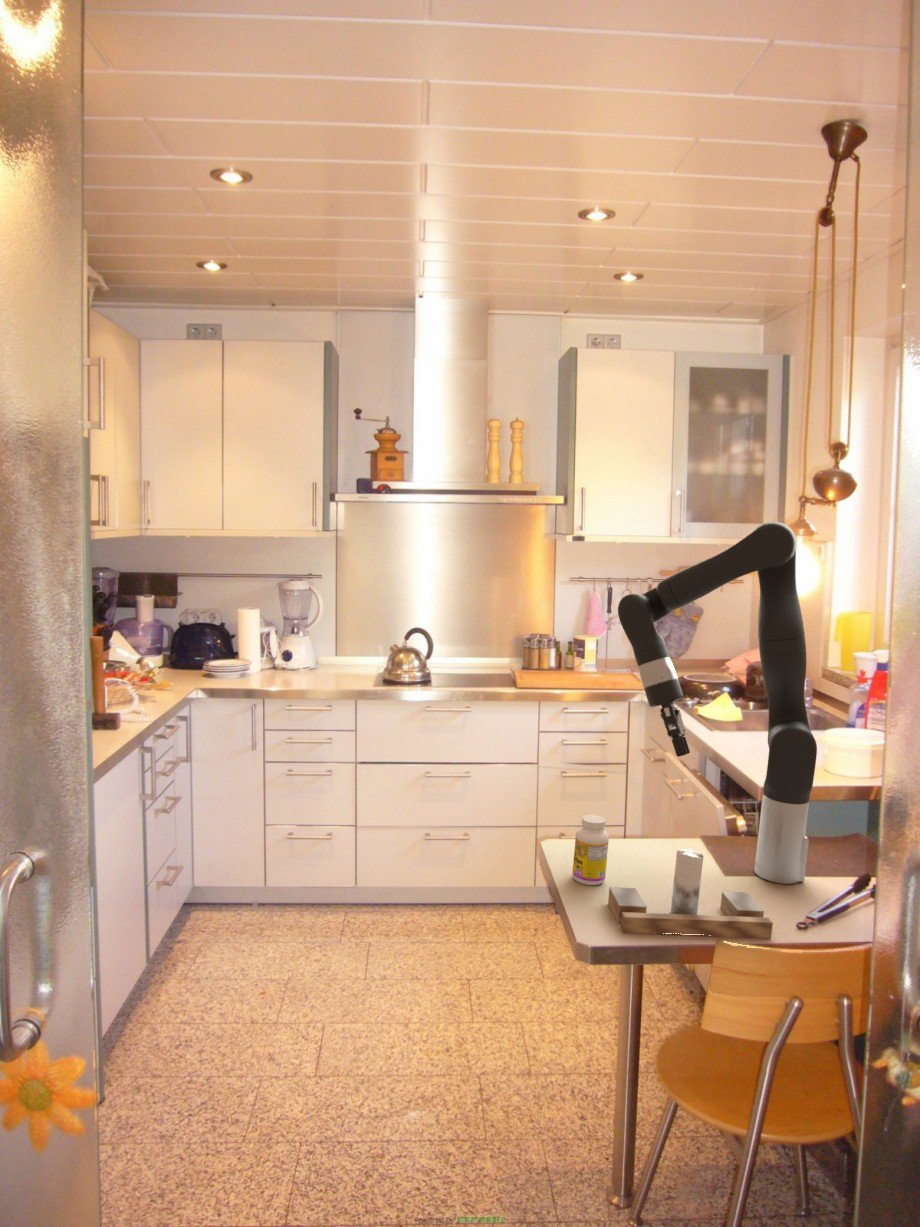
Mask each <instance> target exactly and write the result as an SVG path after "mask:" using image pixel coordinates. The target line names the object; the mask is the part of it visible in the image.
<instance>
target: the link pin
mask: <svg viewBox="0 0 920 1227" xmlns="http://www.w3.org/2000/svg"><path fill="white" fill-rule="evenodd" d="M675 858H676V859H675V865H674V866H675V867H674V875H673V876H674V877H673V887H672V895H671V896H672V897H671V906H670V913H671V914H686V915H698V908H699V900H700V891H701V882H702V872H703V862H704V855H703V853H702V852H700V851H697V850H695V849H688V848H681V849H678V850H677V851H676V857H675Z"/></svg>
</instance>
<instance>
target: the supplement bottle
mask: <svg viewBox="0 0 920 1227" xmlns="http://www.w3.org/2000/svg"><path fill="white" fill-rule="evenodd" d="M581 818H582V819H581V825H582V827H580V828H578V829H577V831H575V842H574V853H573V862H572V863H573V864H572V878H573V879H574V881H576V882H577V883H579V884H582V885H585V886H597V885H601V884H603V883H604V882H605V880H606V874H607V873H606V872H607V862H608V861H607V860H608V853H609V852H608V851H609V839H610V836H609V834H608V832H607V831H606V830H605V827H606V819H605V818H604V817H602V816H599V815H595V814H586V815H583V816H582V817H581Z"/></svg>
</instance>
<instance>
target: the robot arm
mask: <svg viewBox="0 0 920 1227" xmlns="http://www.w3.org/2000/svg"><path fill="white" fill-rule="evenodd" d="M797 547H798V545H797V537H796V534H795V532H794V531H793V530H792V528H791V527H790V526H789V525H787V524H785V523H783V522H779V521H768V522H763V523H762V524H760V525H758V526H757V527H755V529H753V530H752V532H751V533H749V534H747V535H746V536H745V537H744V538H742V539H741V540H739V541H738V542H736V544H733V545H732V546H730V547H729V548H728V549H725V550H724V551H721V552H720V553H718V554H716V555H713V556H712V557H709V558H707V559H705V560H703V561H700V562H698V563H695V564H693V565H690V566H689V567H686V568H684V569H682V570H680V571H678V572H676V573H674V574H672V575H670V576H668V577H666V578H664V579H663V580H661V581H659V583H658V584H657V586H655V587H654V588H652V589H650V590H648V591H646V592H644V593H641V594H639V593H629V594H627V595H624V596H623V597H622V598H621V599H620V600H619V603H618V605H617V614H618V619H619V622H620V624H621V627H622V629H623V631H624V634H625V635H626V637H627V639H628V641H629V643H630V645H631V647H632V651H633V654H634V657H635V661H636V664H637V666H638V672H639V676H640V677H639V678H640V680H641V684H642V687H643V689H644V693H645V696H646V699H647V702H648V703H647V704H648V706H649V707H650V708H656V707H660V706H661V708H660V711H659V712H660V718H661V721H662V723H663V725H664V726H663V727H664V728H665V731H666V734H667V735H668V737H669V739H670V740H671V743H672V746H673V748H674V751H675V752H674V753H675V755H676V756H677V757H683V756H686V755H689V754H690V753H691V752H690V747H689V745H688V741H687V738H686V729H685V724H684V721H683V719H682V717H683V716H682V713H681V710H680V709H679V708H678V707H677V706H675V702H677V701H681V700H682V699H684V693H683V691H682V688H681V684H680V681H679V679H678V675H677V672H676V670H675V667H674V665H673V662H672V660H671V658H670V654H669V652H668V648H667V645H666V643H665V640H664V637H663V636H662V635H661V634H660V633H659V632H658V631H657V628H656V625H655V623H656V622H657V621H659V620H661V619H662V618H664V617H666V616H668V615H669V614H670V613H671V612H673V611H674V610H678V609H680V608H682V607H684V606H687V605H689V604H691V603H693V602H694V601H697V600H699V599H700V598H703V597H704V596H706V595H708V594H710V593H712V592H714V591H715V590H717V589H719V588H721V587H723V586H724V585H726V584H728V583H730V582H732V581H734V580H737V579H738V578H741V577H744V576H746V575H748V574H751V573H754V572H757V577H758V583H759V584H758V585H759V601H758V612H757V614H758V615H757V637H758V638H757V639H758V651H759V659H760V665H761V670H762V676H763V680H764V684H765V689H766V693H767V703H768V705H767V706H768V723H767V725H768V727H767V729H768V730H767V731H768V732H767V746H768V757H767V758H768V759H767V766H766V775H765V780H764V782H763V790H762V800H761V808H760V809H761V810H760V817H759V825H758V826H759V827H758V836H757V844H756V845H757V846H756V851H755V861H754V874H756V875H757V876H758V877H760V878H761V879H764V880H766V881H769V882H771V883H777V884H783V885H787V884H788V885H791V884H797V883H800V882H805V874H806V867H807V866H806V865H807V858H808V849H809V841H810V840H809V837H808V836H807V835H806V832H807V831H806V830H807V823H808V813H809V804H810V799H811V798H810V796H811V792H812V789H813V786H814V778H815V772H816V763H817V755H818V746H817V744H818V743H817V741H816V739H815V737H814V734H813V732H812V731H811V727H810V724H809V718H808V713H807V706H806V701H805V684H806V674H807V645H806V634H805V627H804V621H803V620H804V619H803V614H802V610H801V609H802V608H801V605H800V600H799V599H800V598H799V595H798V590H797V574H796V573H797V572H796V570H797V569H796V568H797V567H796V564H797V563H796V562H797V560H796V559H797Z"/></svg>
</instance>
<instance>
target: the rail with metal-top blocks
mask: <svg viewBox="0 0 920 1227" xmlns="http://www.w3.org/2000/svg"><path fill="white" fill-rule="evenodd" d="M608 891H609V892H608V901H607V904H608V906H609V908H610V910H611V913H612V915H613V916H614V919H615V920H616V922H617V923H618V924H620V929H621V931H622V933H623V934H631V933H633V934H634V933H645V934H644V935H658V934H663V933H664V934H665V933H672V934H673V933H674V934H675V933H677V934H678V933H679V934H680V933H681V934H701V935H702V934H704V935H711V936H710V937H715V936H716V937H717V938H718V937H719V938H744V939H745V938H746V939H747V938H748V939H749V938H751V939H752V938H753V939H772V934H773V933H772V932H773V924H774V922H773V921H772V920H771V919H770V918H769V917H765V916H764V915H765V911H764V909H763V908H762V907H761V906H760V905H759V904H758V903H757V901H755V899H754V898H753V897H752V896H751V895H750V893H749V892H745V891H744V892H743V891H721V900H720V909H721V911H722V912H723V913H724V914H725V915H713V914H712V915H711V914H709V915H707V914H697V915H686V914H670V913H658V912H657V913H653V912H651V913H649V912H647V905H646V904H645V902H644V900H643V898H642V897H641V894H639V892H638V890H637V889H636V887H613V886H609V888H608ZM647 933H648V934H647ZM649 933H650V934H649ZM655 933H656V934H655ZM633 934H632V935H633ZM634 935H635V934H634Z"/></svg>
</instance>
